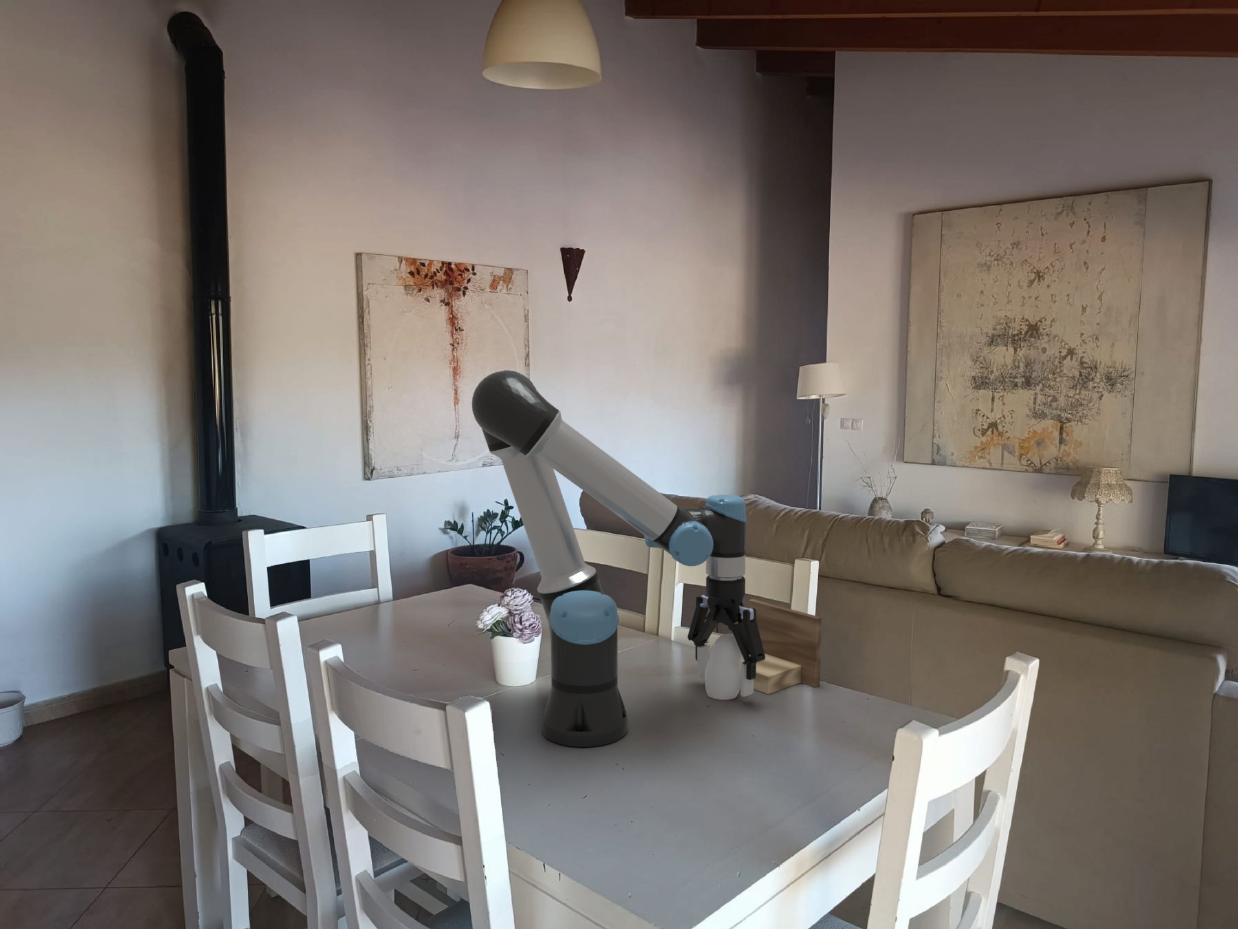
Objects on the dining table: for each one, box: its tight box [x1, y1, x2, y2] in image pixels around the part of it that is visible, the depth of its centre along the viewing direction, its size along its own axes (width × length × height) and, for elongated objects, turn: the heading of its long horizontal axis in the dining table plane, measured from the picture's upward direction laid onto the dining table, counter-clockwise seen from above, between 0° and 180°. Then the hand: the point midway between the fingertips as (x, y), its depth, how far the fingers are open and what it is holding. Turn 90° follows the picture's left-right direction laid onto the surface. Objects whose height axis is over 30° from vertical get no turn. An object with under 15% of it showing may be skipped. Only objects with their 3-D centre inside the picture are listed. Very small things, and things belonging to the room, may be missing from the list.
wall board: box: [741, 598, 822, 695], centre depth 175 cm, size 12×18×14 cm, turn 39°
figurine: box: [704, 633, 743, 701], centre depth 167 cm, size 7×8×12 cm
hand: (724, 686), depth 167 cm, fingers open, 11 cm apart
